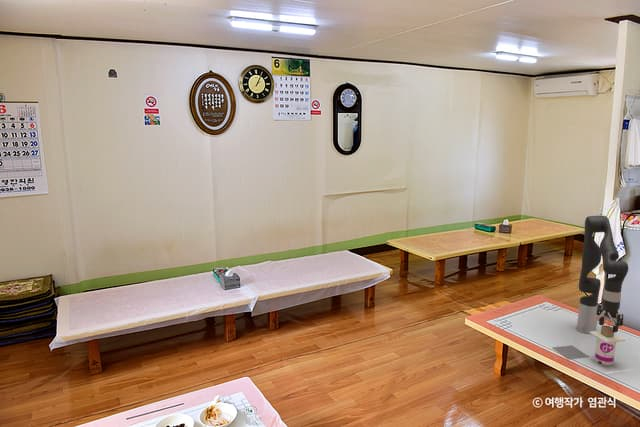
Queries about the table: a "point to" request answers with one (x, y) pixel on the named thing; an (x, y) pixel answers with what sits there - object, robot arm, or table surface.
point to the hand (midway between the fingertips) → (607, 328)
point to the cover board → (607, 340)
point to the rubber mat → (570, 352)
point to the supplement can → (605, 352)
